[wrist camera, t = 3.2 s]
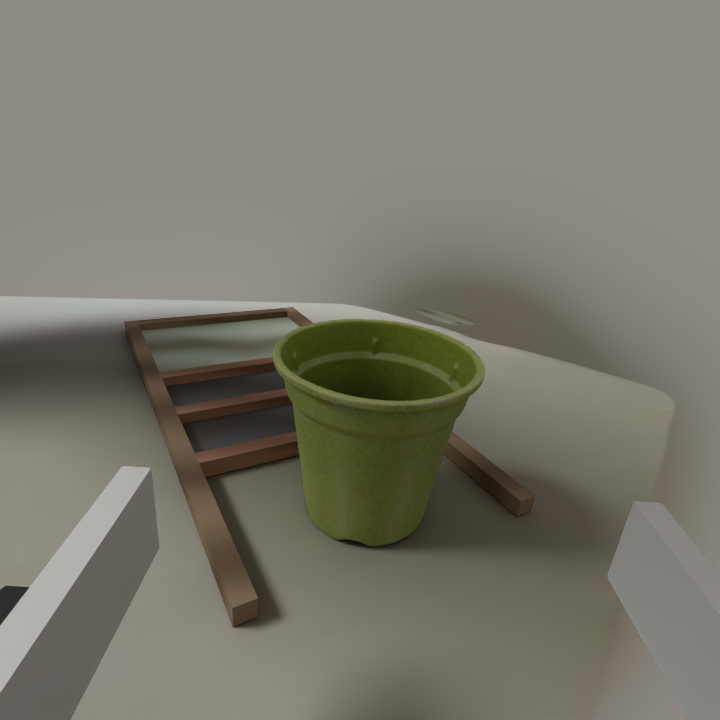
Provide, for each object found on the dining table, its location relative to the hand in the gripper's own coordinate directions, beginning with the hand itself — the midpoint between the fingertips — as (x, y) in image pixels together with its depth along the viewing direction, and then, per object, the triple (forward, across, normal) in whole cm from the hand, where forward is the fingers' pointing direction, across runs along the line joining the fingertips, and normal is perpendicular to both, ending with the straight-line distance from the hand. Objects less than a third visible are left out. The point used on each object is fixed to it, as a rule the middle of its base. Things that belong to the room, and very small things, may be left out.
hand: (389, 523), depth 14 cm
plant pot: (+10, 0, -8) cm, 13 cm away
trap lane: (+21, -6, -7) cm, 23 cm away
